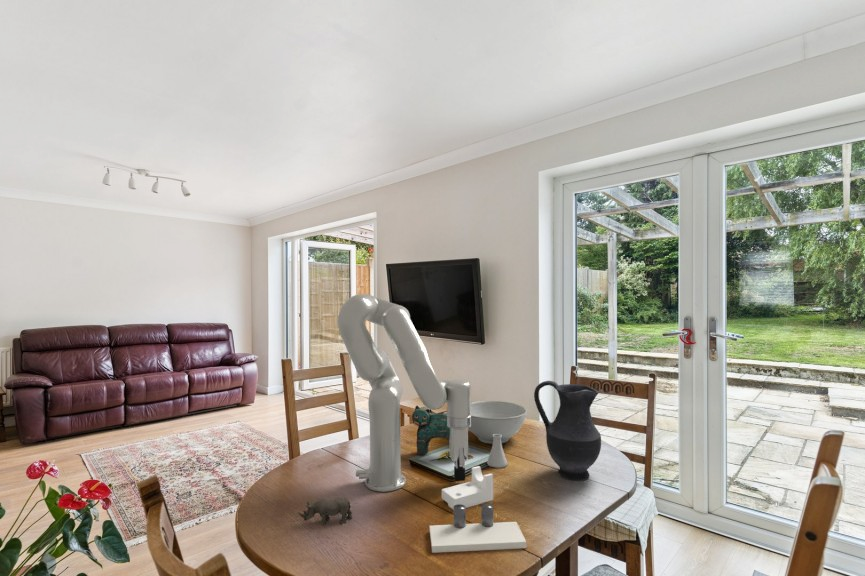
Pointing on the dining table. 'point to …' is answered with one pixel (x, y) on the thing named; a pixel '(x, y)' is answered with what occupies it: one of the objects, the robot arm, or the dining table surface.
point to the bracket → (470, 490)
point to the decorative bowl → (496, 419)
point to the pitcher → (571, 430)
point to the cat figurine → (429, 427)
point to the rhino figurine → (328, 509)
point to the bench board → (476, 537)
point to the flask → (497, 453)
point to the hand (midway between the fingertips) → (459, 479)
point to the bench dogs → (485, 515)
